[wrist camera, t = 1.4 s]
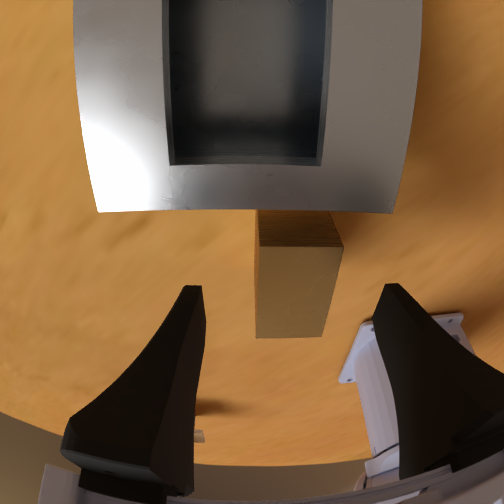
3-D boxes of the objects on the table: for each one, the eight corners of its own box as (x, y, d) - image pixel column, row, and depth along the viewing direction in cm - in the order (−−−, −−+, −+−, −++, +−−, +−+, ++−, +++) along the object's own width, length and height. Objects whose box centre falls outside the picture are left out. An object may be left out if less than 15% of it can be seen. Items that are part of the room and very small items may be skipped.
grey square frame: (365, -37, 8) (419, -67, 4) (351, 162, 14) (392, 213, 10) (131, -39, 8) (79, -70, 4) (140, 160, 14) (98, 211, 10)
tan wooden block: (317, 187, 15) (343, 247, 11) (306, 268, 18) (321, 336, 14) (256, 186, 15) (259, 246, 11) (254, 268, 18) (255, 338, 14)
